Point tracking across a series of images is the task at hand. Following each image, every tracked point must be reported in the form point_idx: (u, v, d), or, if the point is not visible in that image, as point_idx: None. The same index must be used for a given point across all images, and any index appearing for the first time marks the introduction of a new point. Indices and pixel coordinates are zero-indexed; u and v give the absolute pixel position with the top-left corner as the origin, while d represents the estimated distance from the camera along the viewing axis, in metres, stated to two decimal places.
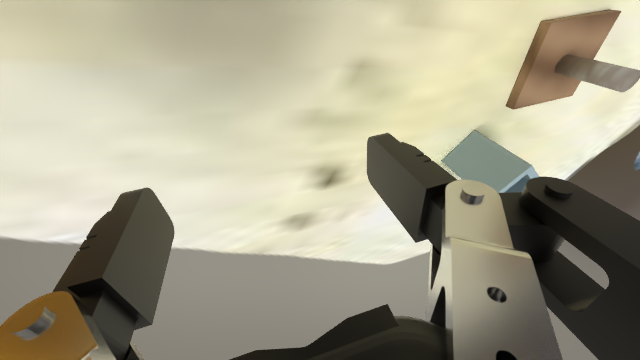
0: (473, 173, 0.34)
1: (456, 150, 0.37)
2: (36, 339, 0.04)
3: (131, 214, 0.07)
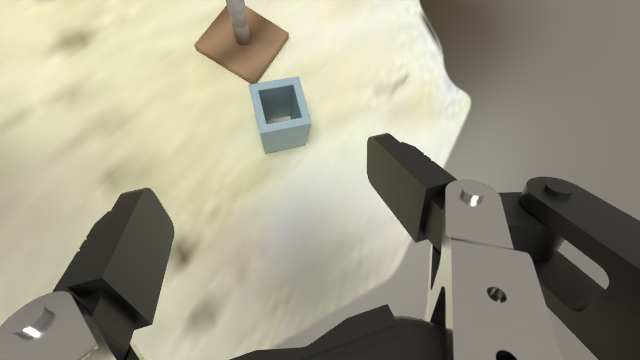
0: None
1: None
2: (36, 339, 0.04)
3: (131, 214, 0.07)
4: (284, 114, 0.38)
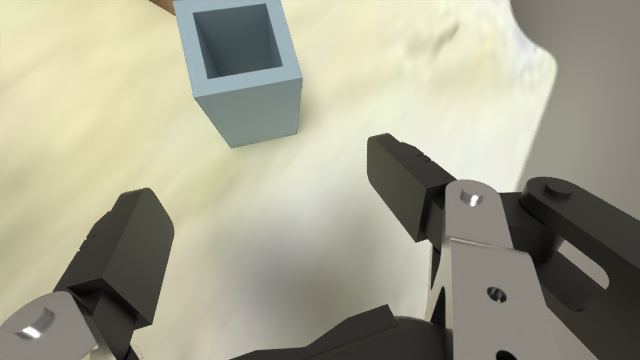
0: None
1: None
2: (36, 339, 0.04)
3: (131, 214, 0.07)
4: None
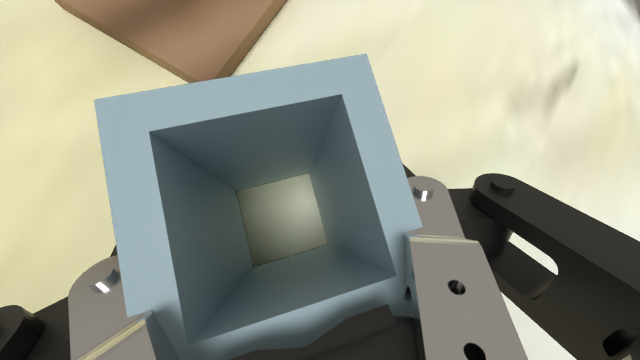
0: None
1: None
2: (110, 291, 0.05)
3: None
4: (293, 174, 0.14)
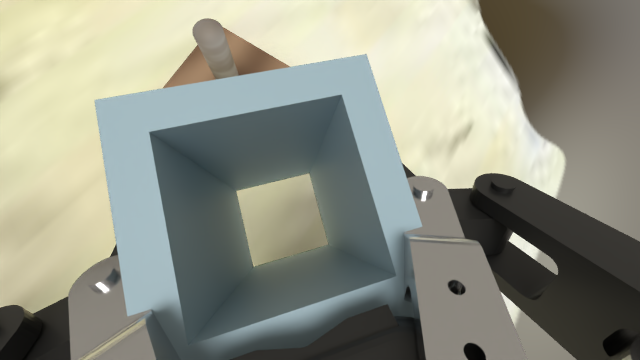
0: None
1: None
2: (110, 291, 0.05)
3: None
4: (293, 174, 0.14)
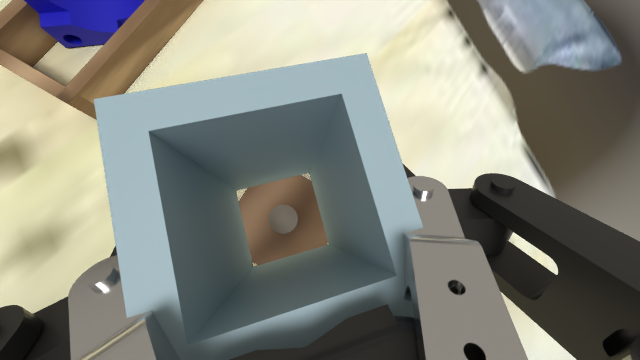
0: None
1: None
2: (110, 291, 0.05)
3: None
4: (293, 174, 0.14)
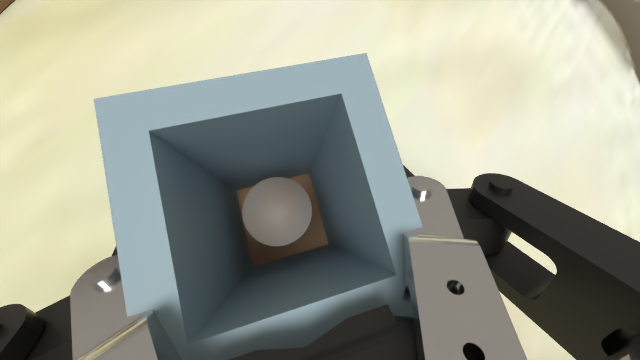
0: None
1: None
2: (112, 290, 0.05)
3: None
4: (293, 174, 0.14)
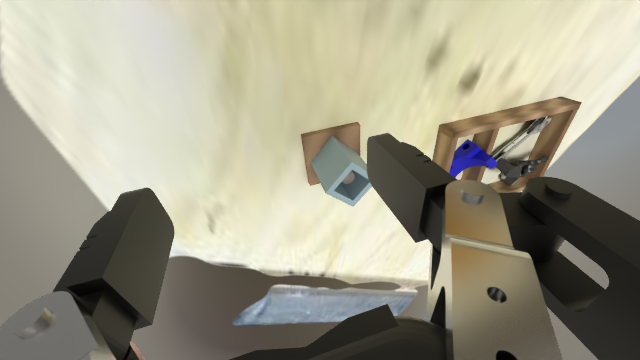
0: (348, 153, 0.39)
1: (342, 143, 0.43)
2: (36, 339, 0.04)
3: (131, 214, 0.07)
4: None
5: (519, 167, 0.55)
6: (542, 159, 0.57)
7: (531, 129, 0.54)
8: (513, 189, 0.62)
